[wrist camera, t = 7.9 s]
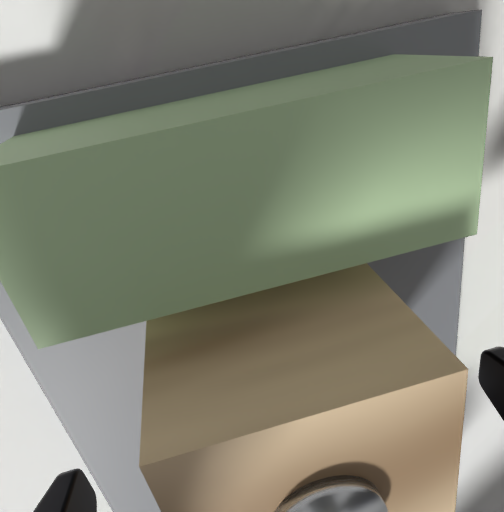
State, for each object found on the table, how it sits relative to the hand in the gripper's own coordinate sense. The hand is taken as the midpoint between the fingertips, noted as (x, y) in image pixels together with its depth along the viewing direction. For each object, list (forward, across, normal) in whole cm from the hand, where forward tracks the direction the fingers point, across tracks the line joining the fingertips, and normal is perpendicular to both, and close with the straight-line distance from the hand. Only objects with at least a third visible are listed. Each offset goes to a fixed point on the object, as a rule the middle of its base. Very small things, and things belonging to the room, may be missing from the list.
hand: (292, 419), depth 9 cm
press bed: (+4, 0, +4) cm, 6 cm away
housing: (+3, 0, 0) cm, 3 cm away
